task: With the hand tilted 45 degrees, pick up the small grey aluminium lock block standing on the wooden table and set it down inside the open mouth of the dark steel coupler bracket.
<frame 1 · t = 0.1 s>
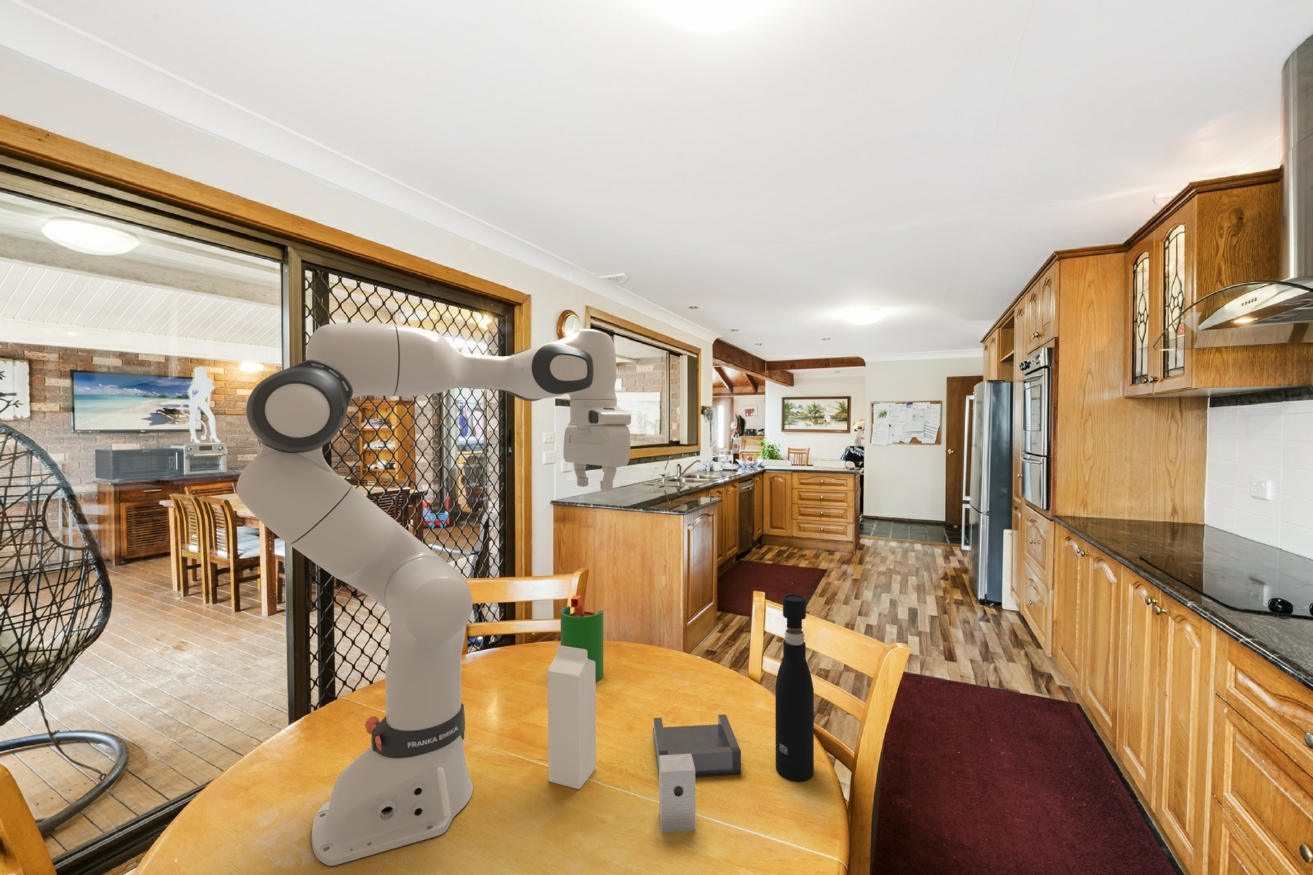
hand: (594, 488, 103), 48 cm above the table, tool pointing down, fingers open, 8 cm apart
green pencil holder: (581, 677, 129), on the table
black water bottle: (794, 771, 93), on the table
lock block: (677, 821, 81), on the table
coupler bracket: (694, 752, 99), on the table
milk: (572, 776, 92), on the table
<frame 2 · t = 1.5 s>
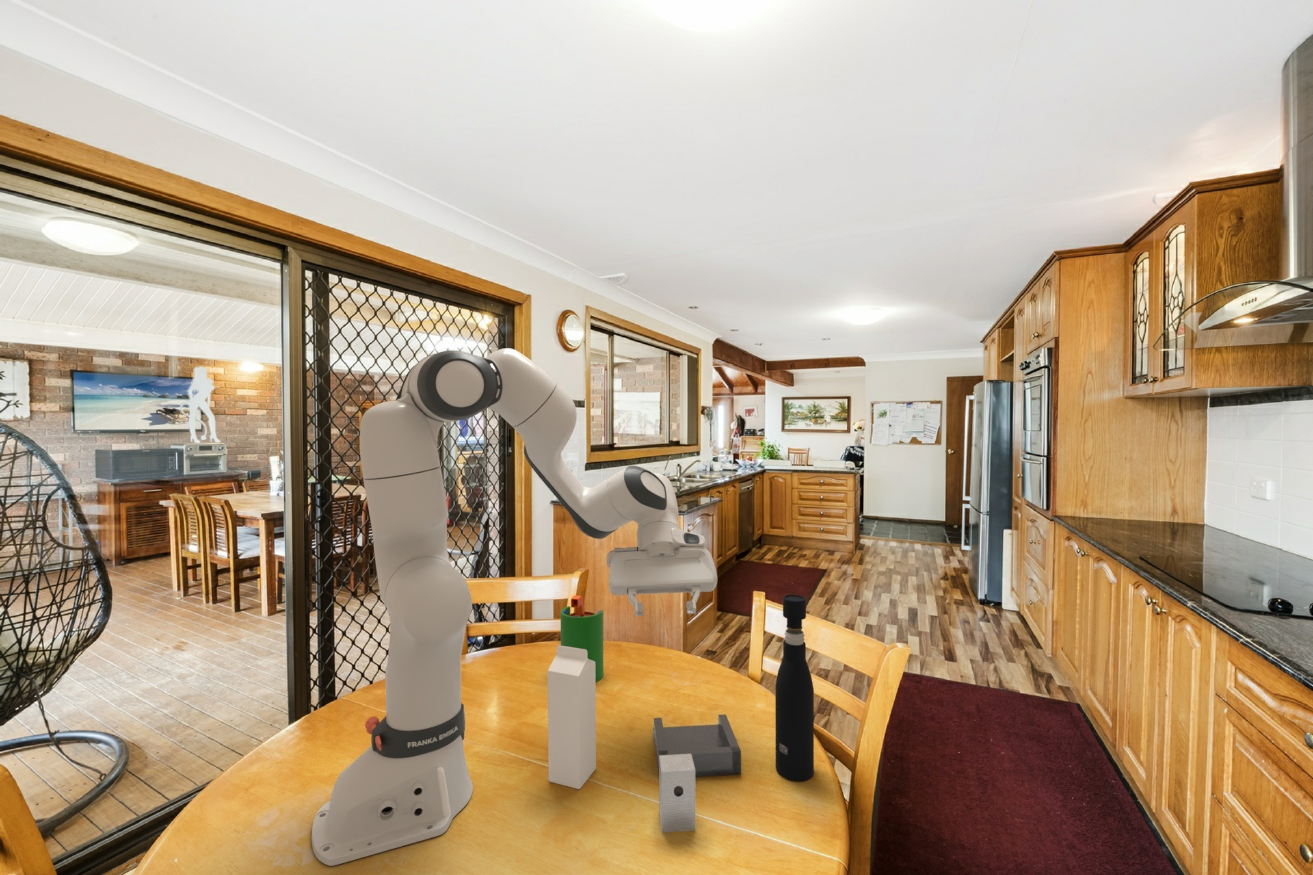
hand: (665, 613, 96), 26 cm above the table, tool tilted 45°, fingers open, 8 cm apart
nothing on the table moved.
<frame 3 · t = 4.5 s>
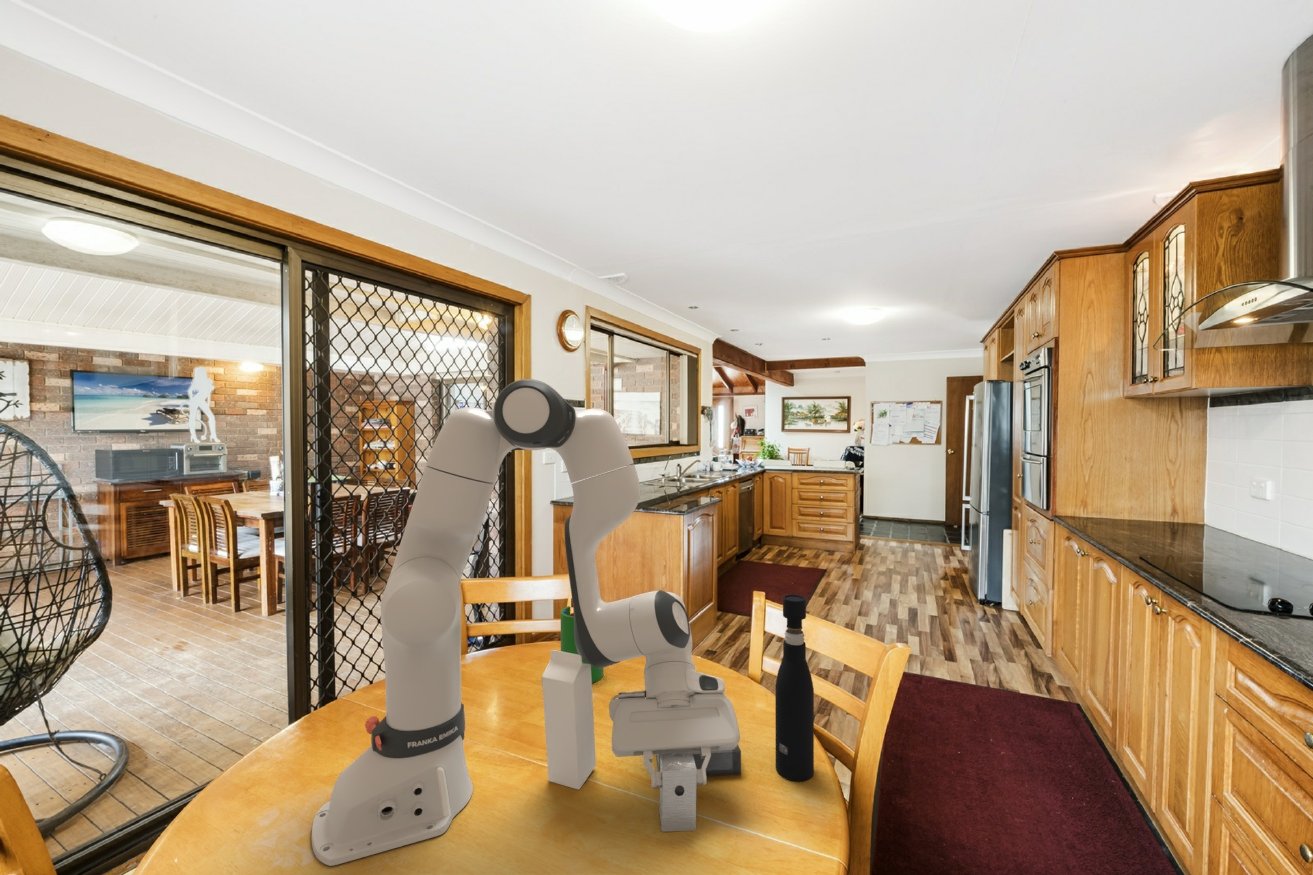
hand: (679, 785, 81), 6 cm above the table, tool tilted 45°, fingers open, 5 cm apart
lock block: (677, 821, 81), on the table, touching gripper
milk: (572, 774, 92), on the table, touching arm
everything else where it was.
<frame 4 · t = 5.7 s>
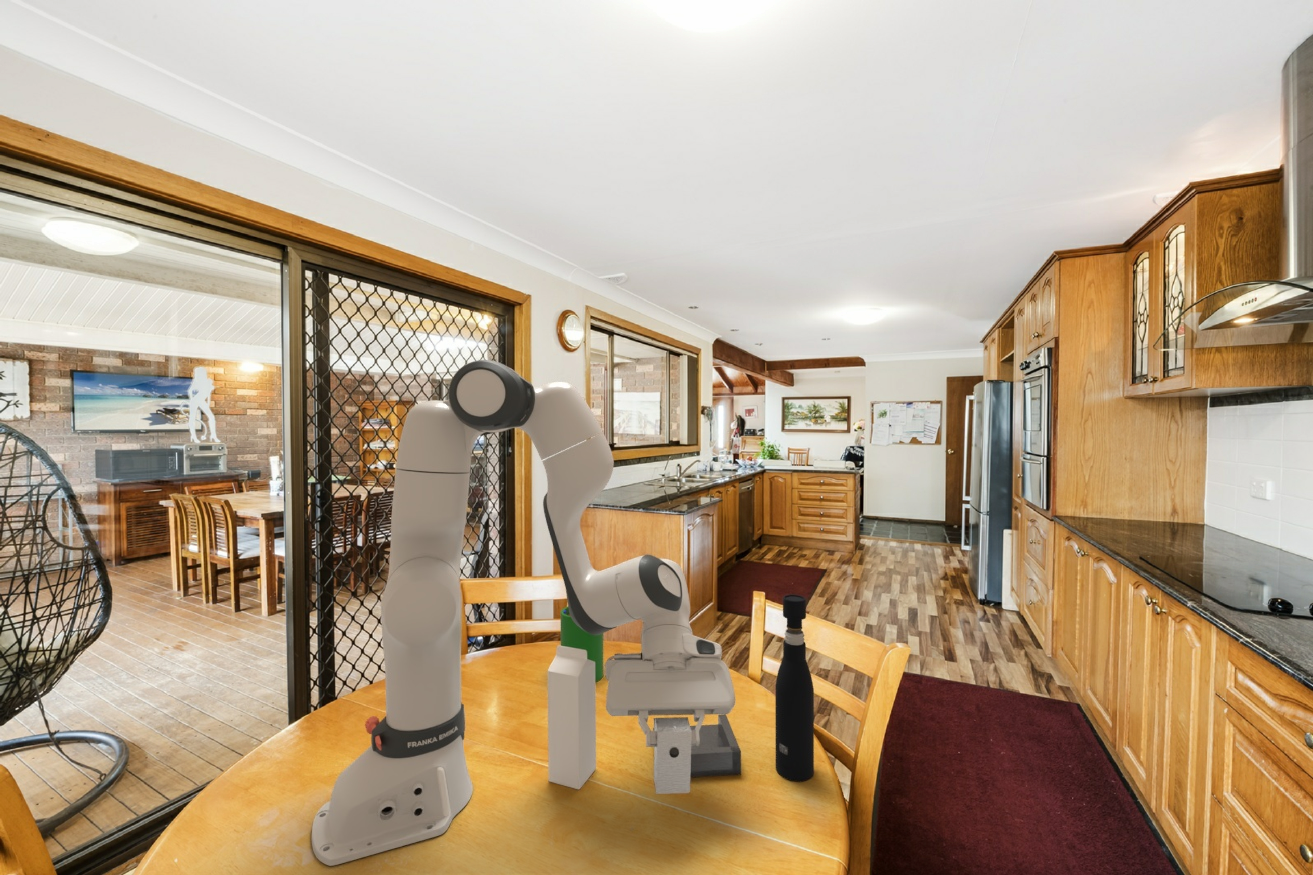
hand: (673, 745, 80), 12 cm above the table, tool tilted 45°, fingers closed on lock block, 5 cm apart
lock block: (671, 784, 81), point 6 cm above the table, touching gripper
milk: (572, 776, 92), on the table
everything else where it was.
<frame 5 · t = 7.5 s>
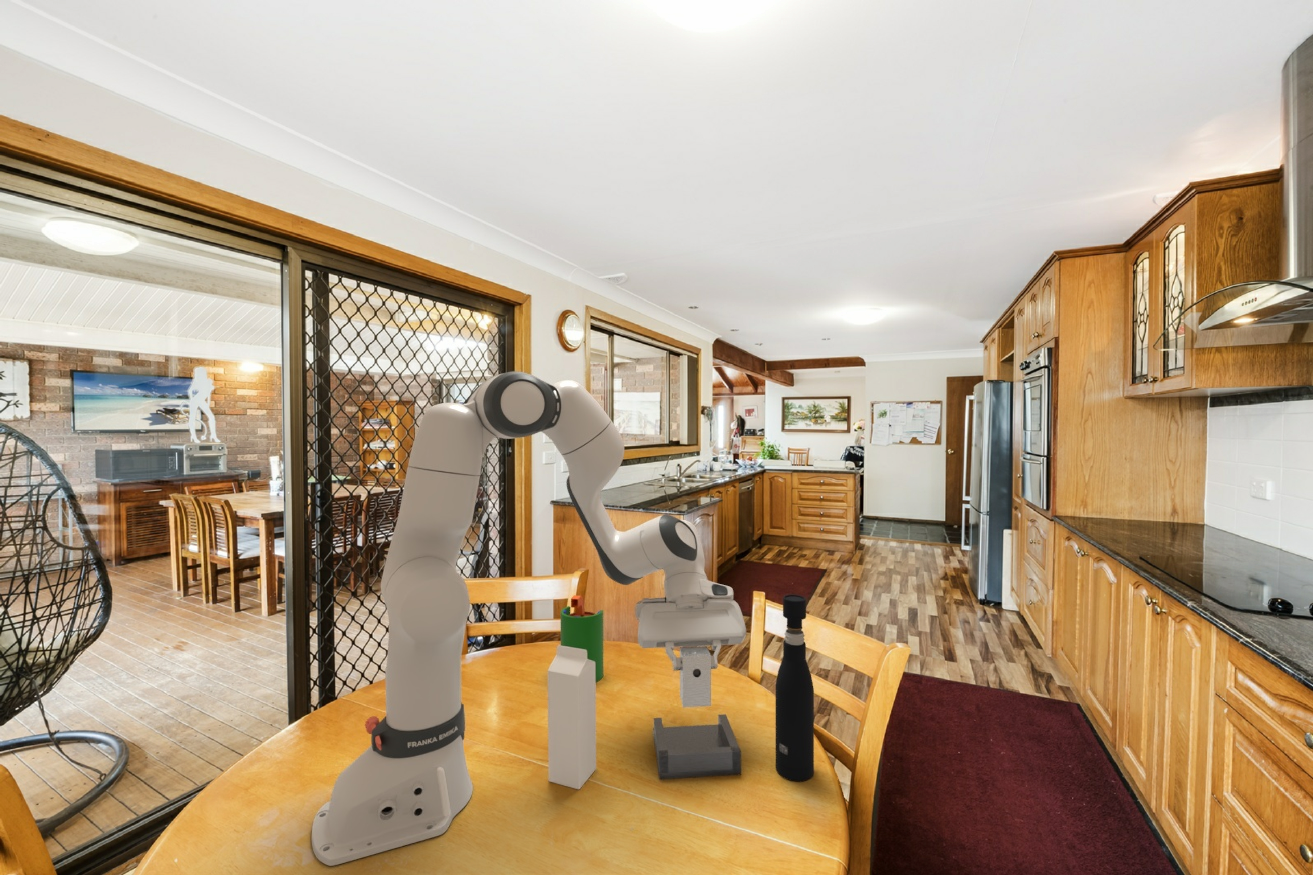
hand: (695, 668, 96), 16 cm above the table, tool tilted 45°, fingers closed on lock block, 5 cm apart
lock block: (695, 701, 97), point 10 cm above the table, touching gripper
everything else where it was.
when the fingers open (8 cm above the table, at t = 9.3 s): lock block stays where it is, resting on coupler bracket.
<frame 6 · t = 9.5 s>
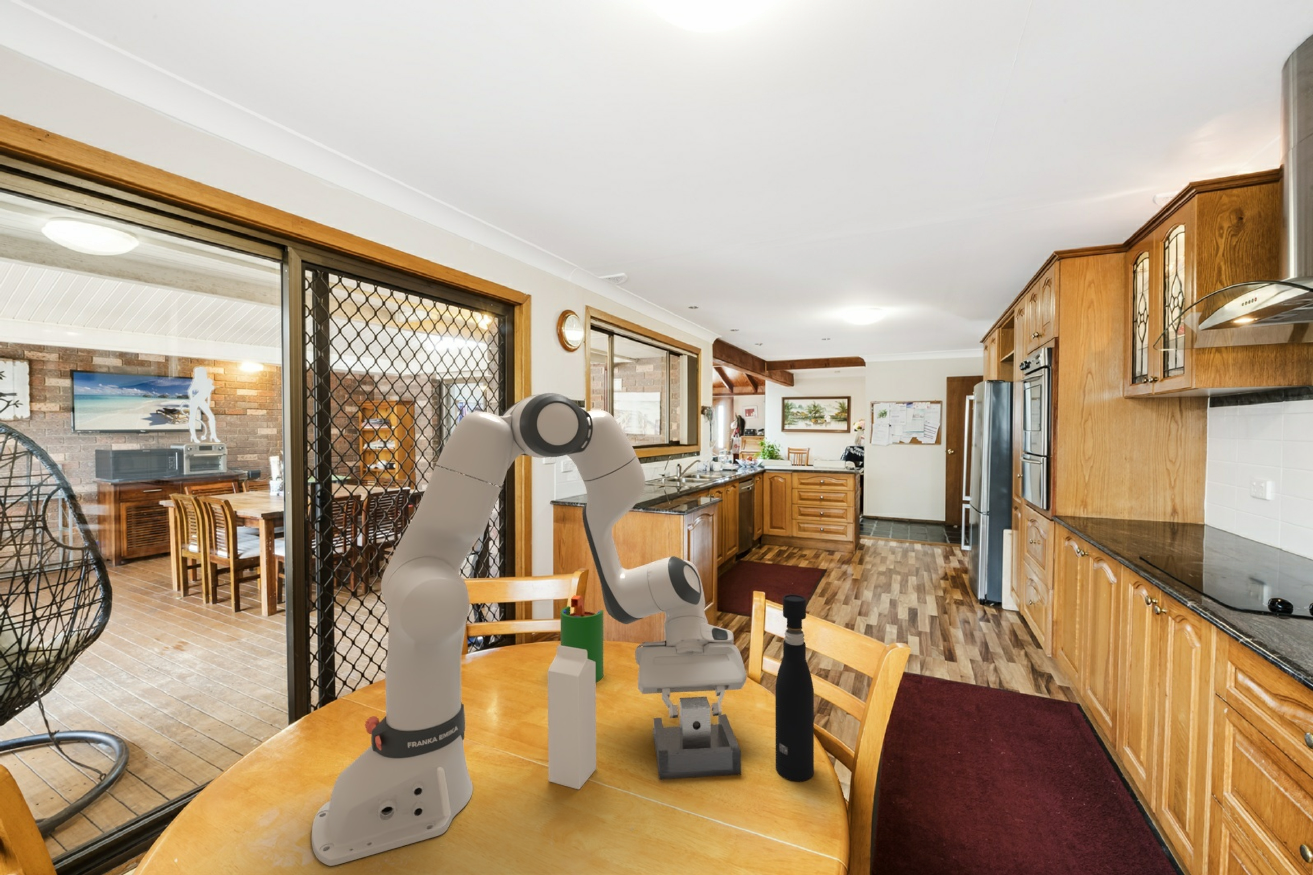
hand: (695, 716, 96), 8 cm above the table, tool tilted 45°, fingers open, 6 cm apart
lock block: (694, 752, 97), point 1 cm above the table, touching coupler bracket
everything else where it was.
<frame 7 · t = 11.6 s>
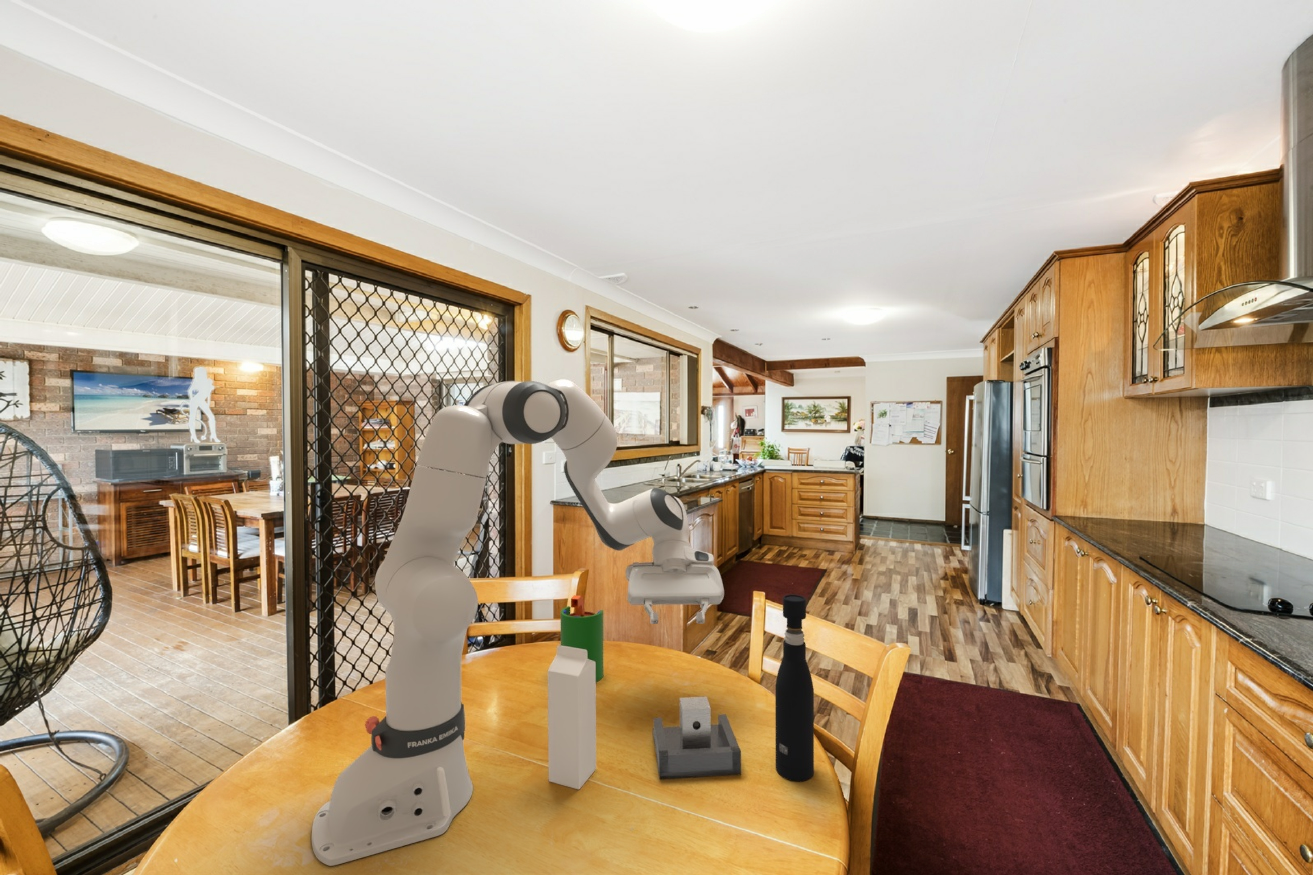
hand: (677, 622, 108), 20 cm above the table, tool tilted 45°, fingers open, 8 cm apart
nothing on the table moved.
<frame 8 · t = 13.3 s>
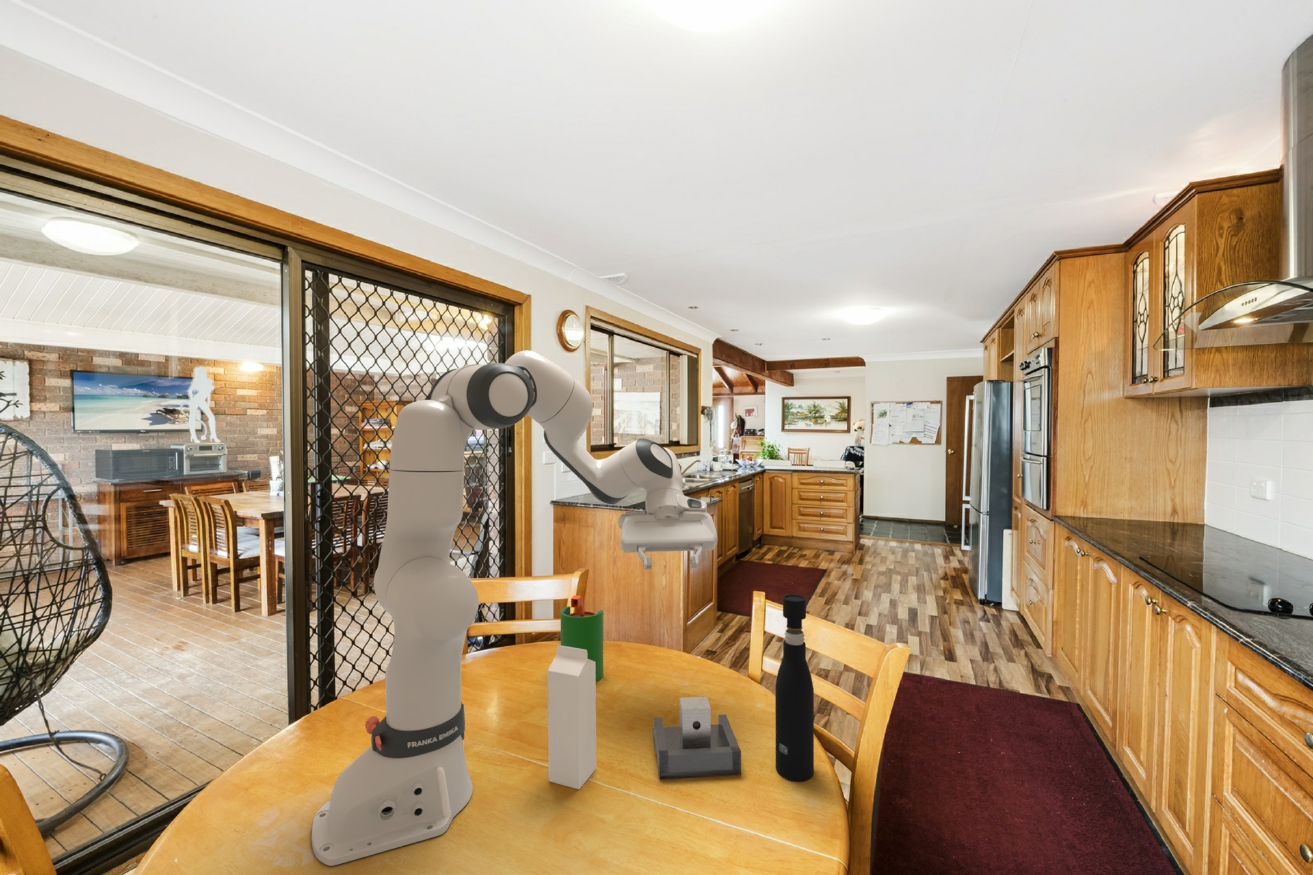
hand: (671, 567, 108), 31 cm above the table, tool tilted 45°, fingers open, 8 cm apart
nothing on the table moved.
at the end: lock block 1.6 cm from the coupler bracket (horizontally); lock block tilted 0°; lock block point 1.0 cm above the table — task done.
